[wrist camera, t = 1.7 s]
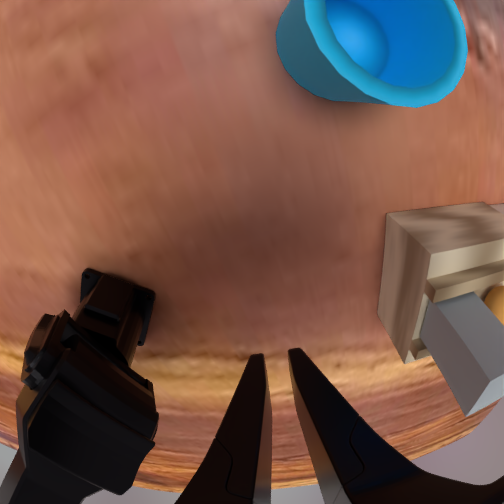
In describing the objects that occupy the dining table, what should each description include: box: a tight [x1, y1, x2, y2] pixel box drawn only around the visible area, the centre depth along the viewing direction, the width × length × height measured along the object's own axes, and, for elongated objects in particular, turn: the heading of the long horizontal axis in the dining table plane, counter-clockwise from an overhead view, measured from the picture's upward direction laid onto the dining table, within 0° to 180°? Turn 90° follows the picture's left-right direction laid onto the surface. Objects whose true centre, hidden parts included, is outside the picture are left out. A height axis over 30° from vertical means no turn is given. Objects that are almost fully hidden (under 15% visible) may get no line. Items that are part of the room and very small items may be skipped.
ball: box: [484, 286, 504, 326], centre depth 16 cm, size 3×3×3 cm
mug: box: [276, 0, 468, 108], centre depth 11 cm, size 12×8×8 cm
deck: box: [377, 202, 504, 364], centre depth 20 cm, size 11×10×8 cm
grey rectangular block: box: [420, 291, 504, 417], centre depth 14 cm, size 4×4×8 cm
